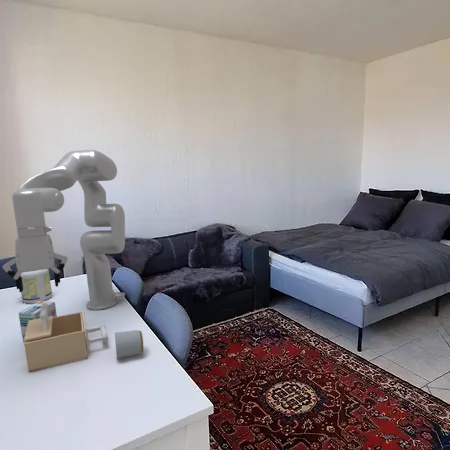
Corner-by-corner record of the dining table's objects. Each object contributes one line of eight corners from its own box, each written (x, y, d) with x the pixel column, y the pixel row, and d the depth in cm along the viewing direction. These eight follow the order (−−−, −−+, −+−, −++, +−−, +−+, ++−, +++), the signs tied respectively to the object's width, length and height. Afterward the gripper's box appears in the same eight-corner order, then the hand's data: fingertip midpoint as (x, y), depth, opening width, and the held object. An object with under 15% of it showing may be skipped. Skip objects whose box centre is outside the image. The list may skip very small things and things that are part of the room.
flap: (24, 341, 103) (20, 320, 102) (29, 322, 116) (26, 303, 115) (51, 335, 106) (48, 315, 105) (52, 317, 119) (50, 299, 118)
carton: (105, 331, 127) (102, 307, 126) (110, 352, 113) (107, 325, 111) (33, 347, 119) (29, 321, 117) (28, 372, 104) (23, 343, 102)
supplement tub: (44, 292, 171) (39, 257, 168) (57, 296, 164) (52, 261, 160) (17, 300, 161) (11, 264, 158) (30, 306, 154) (24, 268, 151)
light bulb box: (39, 343, 121) (34, 313, 119) (22, 342, 123) (17, 312, 121) (59, 328, 131) (55, 300, 129) (43, 327, 133) (39, 300, 131)
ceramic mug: (145, 357, 109) (143, 333, 108) (117, 363, 107) (114, 339, 105) (140, 342, 119) (138, 320, 118) (115, 347, 116) (112, 325, 115)
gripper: (64, 227, 113) (70, 279, 116) (0, 233, 106) (8, 289, 109) (63, 231, 106) (70, 286, 109) (-5, 238, 99) (4, 297, 102)
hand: (39, 288), depth 109 cm, fingers open, 9 cm apart
